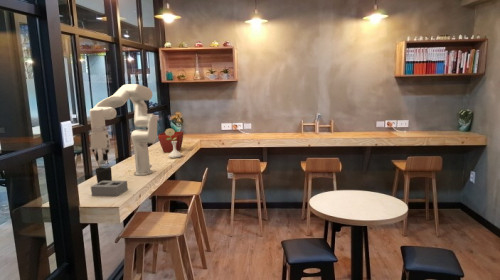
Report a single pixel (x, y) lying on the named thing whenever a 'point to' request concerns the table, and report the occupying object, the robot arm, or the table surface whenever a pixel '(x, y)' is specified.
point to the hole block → (109, 188)
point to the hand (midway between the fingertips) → (102, 159)
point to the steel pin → (100, 156)
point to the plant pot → (167, 144)
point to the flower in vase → (174, 153)
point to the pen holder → (103, 174)
